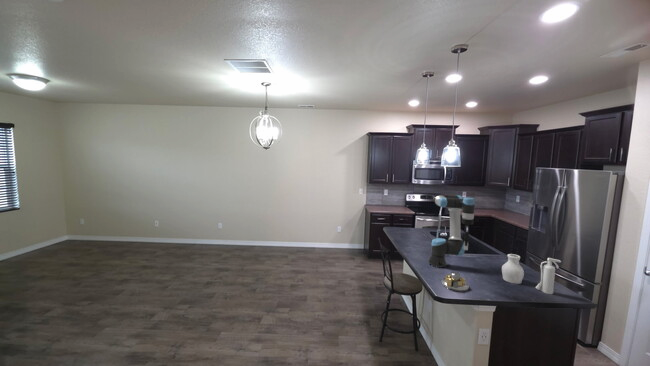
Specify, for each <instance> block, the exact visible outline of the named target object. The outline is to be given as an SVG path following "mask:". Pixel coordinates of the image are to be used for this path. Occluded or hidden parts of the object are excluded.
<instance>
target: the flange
mask: <svg viewBox="0 0 650 366" xmlns="http://www.w3.org/2000/svg"><path fill="white" fill-rule="evenodd" d="M450 275H451V278H453V279H457V281H460V277H461V274H460V273H459V272H456V271H451V272H450ZM442 284H443V285H444V286H445V287H444V286H443V285H442ZM441 285H442V286H443V287H444V288H446V289H448V288H449V289H448V290H450V291H451V290H452V291H455V292H467V291H469V288H470V285H469V284H468V282H466V281H465V285H464V286H462V287H461V286H458V282H456V281H453V286H452V287H449V286H447V282H446V281H445V277H443V278H442V279H441Z"/></svg>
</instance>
